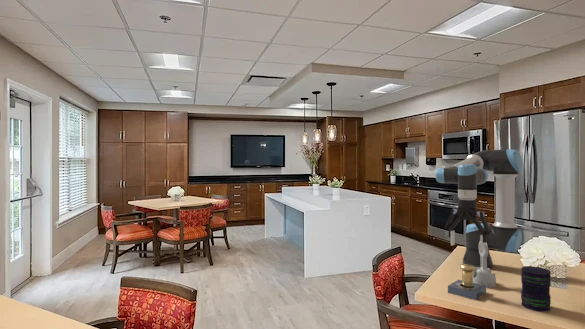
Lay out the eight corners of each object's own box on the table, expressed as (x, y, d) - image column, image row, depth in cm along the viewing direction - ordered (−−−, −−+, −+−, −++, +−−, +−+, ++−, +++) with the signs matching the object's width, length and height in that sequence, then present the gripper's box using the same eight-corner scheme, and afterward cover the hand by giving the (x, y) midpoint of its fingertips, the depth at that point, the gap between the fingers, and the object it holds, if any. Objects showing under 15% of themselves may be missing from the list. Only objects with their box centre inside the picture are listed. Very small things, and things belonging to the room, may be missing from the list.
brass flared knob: (457, 292, 159) (458, 265, 159) (463, 289, 163) (463, 263, 163) (471, 296, 154) (472, 268, 154) (476, 292, 159) (477, 266, 158)
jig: (458, 285, 167) (458, 279, 167) (486, 292, 159) (486, 286, 159) (447, 292, 159) (447, 285, 159) (476, 300, 150) (476, 293, 150)
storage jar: (543, 302, 147) (544, 267, 147) (555, 312, 138) (555, 274, 137) (517, 300, 149) (517, 265, 149) (526, 310, 140) (526, 272, 140)
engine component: (475, 286, 166) (499, 288, 164) (475, 243, 166) (499, 244, 164) (469, 279, 177) (491, 280, 175) (469, 238, 177) (491, 238, 175)
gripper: (436, 197, 164) (436, 244, 165) (494, 202, 147) (494, 254, 147) (443, 196, 170) (443, 241, 170) (500, 200, 152) (500, 250, 152)
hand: (467, 247), depth 159 cm, fingers open, 12 cm apart
